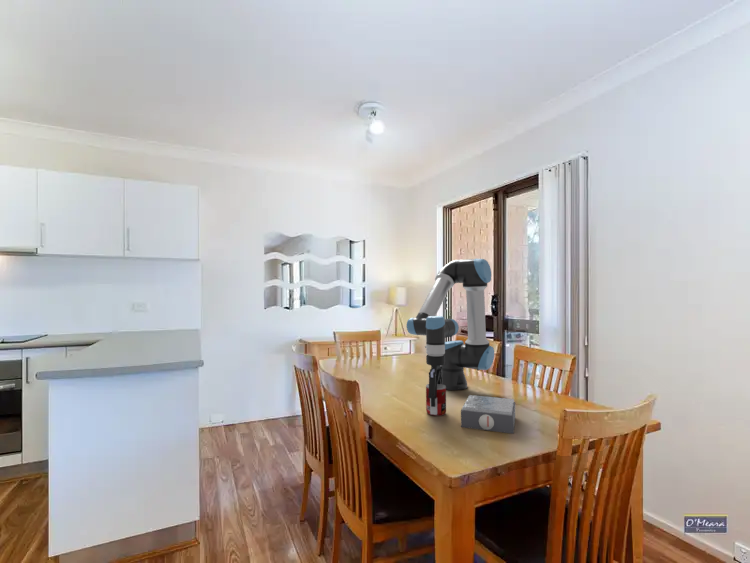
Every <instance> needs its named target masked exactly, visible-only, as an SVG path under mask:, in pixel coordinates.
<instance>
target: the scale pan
mask: <svg viewBox="0 0 750 563" xmlns="http://www.w3.org/2000/svg"><path fill="white" fill-rule="evenodd" d="M514 402H515V399H514V398H503V397H494V396H493V397H492V396H482V395H476V394H475V395H471V394H469V395H468V397H467V398H466V400H465V402H464V404H463V405H462V408H461V409H462V410H465V411H474V412H483V413H492V414H501V415H510V416H512V411H513V405H514Z"/></svg>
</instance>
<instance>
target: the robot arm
mask: <svg viewBox="0 0 750 563" xmlns="http://www.w3.org/2000/svg"><path fill="white" fill-rule="evenodd" d="M434 280H435V282H434V284H433V286H432V287H431V289H430V290H429V293H428V295H427V297H426V299H425V300H424V302H423V304H422V306H421V307H420V309H419V312H418V313H417V314H416V316H415V317H414V316H413V317H410V318H409V319H408V320H407V322H406V330H407V332H408V333H409V334H410V335H413V336H414V335H416V336H425V337H426V338H425V339H426V340H425V342H426V344H425V346H424V347H425V349H426V351H425V352H426V357H425V358H426V362H425V363H426V365H428V366H431V367H430V369H429V372H428V384H429V395H428V398H430V414H433V415H432V416H434V415H437V384H443V385H445V386H446V391H449V390H450V391H459V390H460V391H461V390H466V389H468V381H467V377H466V375H465V372H464V370H465V369H472V370H473V369H474V370H479V371H480V370H481V371H488V370H489V369H491V367H492V365H493V362H494V358H495V349H494V347H493V346H492V345H491V344H490V341H489V340H488V339H487V335H486V334H487V330H486V326H487V325H486V304H485V303H486V302H485V290H486V289H487V287H488V283H490V282H492V269H491V265H490V263H489V262H488V260H486V259H485V258H466V259H454V260H451V261H449V262H448V263H447V264H445V265H444V266H443V267H442V268H441V269H439V271H438V273H437V274H436V276H435V278H434ZM456 284H462V288H463V289H464V290H465V292H466V293H465V294H466V318H467V319H466V320H467V323H466V324H467V338H466V340H465V341H463V340H450V341H446V338H451V337H453V336H455V335H457V333H458V332H459V329H460V328H459V324H458V321H456V320H455V319H453V318H446V319H445V317H444V316H441V315H439V316H438V315H437V314H438V312H439V309H440V308H441V306H442V305H443V302H444V301H445V298H446V296H447V294H448V293H449V291H450V289H452V288H453V287H454V285H456ZM464 368H465V369H464ZM432 394H433V395H432ZM430 414H429V415H430Z"/></svg>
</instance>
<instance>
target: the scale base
mask: <svg viewBox="0 0 750 563" xmlns="http://www.w3.org/2000/svg"><path fill="white" fill-rule="evenodd" d="M515 421H516V401H514V405H513V411H512V416H510V415H501V414H492V413H483V412H474V411H465V410H462V408H461V410H460V427H461V428H464V429H465V428H468V429H475V430H481V431H488V432H489V431H490V432H495V433H496V432H498V433H505V434H512V435H513V434H515V433H514V432H515V423H516V422H515Z"/></svg>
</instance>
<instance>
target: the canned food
mask: <svg viewBox="0 0 750 563" xmlns="http://www.w3.org/2000/svg"><path fill="white" fill-rule="evenodd" d="M425 385H426V386H425V401H426V402H425V408H426V413H427V414H428V415H430V416H434V417H435V416H437V417H439V416H444V415H445V414H446V413H447V389H446V386H445V385H443V384H437V415H433V414H430V398H428V395H429V383H428V384H425ZM432 395H433V394H432Z"/></svg>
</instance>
